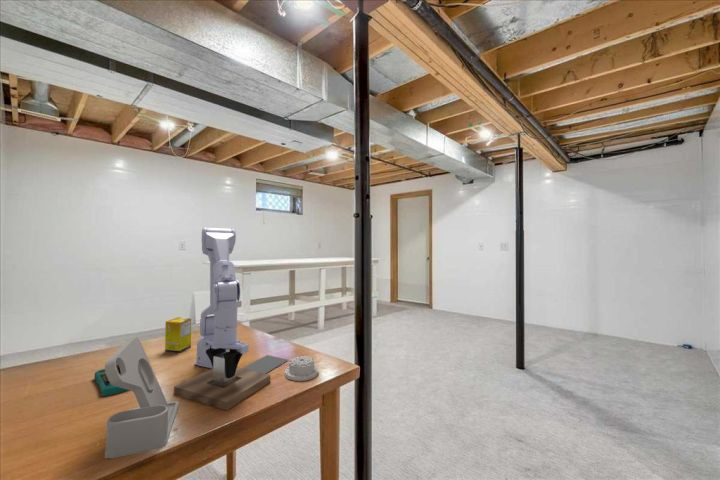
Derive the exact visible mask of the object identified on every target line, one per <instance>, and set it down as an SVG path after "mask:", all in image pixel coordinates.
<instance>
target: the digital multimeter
mask: <svg viewBox="0 0 720 480" xmlns="http://www.w3.org/2000/svg"><path fill="white" fill-rule="evenodd" d="M95 379H96V380H95ZM94 380H95V382H96V381H97V382H98V383H97V382H96V383H97V385H98V384H99V385H98V386H99V389H101V390H100V391H101V392H102V393H101V396H102V397H107V396H108V395H109V396H113V395H116V393H117V394H120V392H121V393H124V392H127V391H128V390H127V389H123V388H120V387H116V386H113V385H111V383H110V382H109V380H108V378H107V375H106V373H105V368H103V369H98V370H97V371H95V372H94ZM112 394H113V395H112Z"/></svg>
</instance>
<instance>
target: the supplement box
mask: <svg viewBox="0 0 720 480" xmlns="http://www.w3.org/2000/svg"><path fill="white" fill-rule="evenodd" d="M164 332H165V335H164V336H165V337H164V338H165V339H164V341H165V342H164V347H165V349H164V352H165V353H174V354H175V353H176V354H180V353H182V352H184V351H186V350H188V349H190V348H192V317H179V316H178V317H175V318H171V319H169V320H166V321H165V331H164Z"/></svg>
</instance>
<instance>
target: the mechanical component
mask: <svg viewBox="0 0 720 480" xmlns="http://www.w3.org/2000/svg"><path fill="white" fill-rule="evenodd" d="M318 374H319V367H318V366H316V365H315V360H314V358H313V357H310V356H307V355H303V356H302V355H301V356H296V357H291V358H290V359H289V362H288V366H287V367H285V369H284V377H285V378H286V379H288V380H290V381H295V382H303V381H310V380H312V379H315V378H316V377H317V376H318Z"/></svg>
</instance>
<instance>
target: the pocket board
mask: <svg viewBox="0 0 720 480" xmlns="http://www.w3.org/2000/svg"><path fill="white" fill-rule="evenodd" d="M269 383H271V374H268V373H267V374H264V373H260V372H256V371H252V370H247V369H243V367H239V366H237V369H236V382H234V383H232V384H230V385H229V386H227V387H225V388H222V387H218V386H215V385H213V369H211V368H210V369H208V370H207V371H204V372H203V373H200V374H198V375H196V376H194V377H191V378H188V379H187V380H185V381H183V382H181V383H179V384H177V385H174V386H173V395H176V396H179V397H182V398H185V399H188V400H191V401H195V402H198V403H202V404H204V405H208V406H209V407H210V406H211V407H214V408H217V409H220V410H224V411H227V410H230V409H231V408H232V407H233V406H235V405H237V404H238V403H240V402H241V401H243V400H244V399H246V398H248V397H249V396H251V395H252V394H254V393H255V392H257V391H258V390H260V389H261V388H263V387H265V386H266V385H268V384H269Z"/></svg>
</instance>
